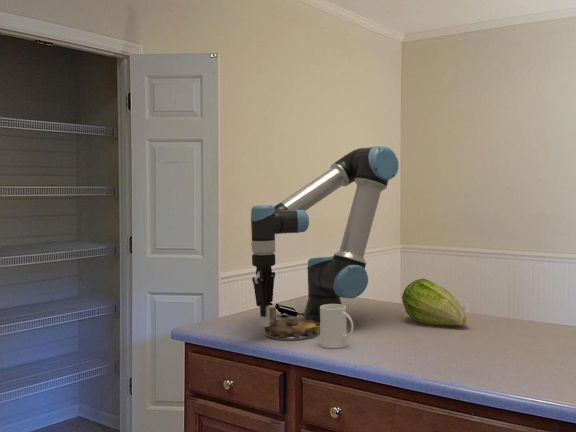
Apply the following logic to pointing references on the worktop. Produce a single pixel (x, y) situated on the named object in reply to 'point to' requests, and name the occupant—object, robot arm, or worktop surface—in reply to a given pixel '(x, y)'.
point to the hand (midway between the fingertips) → (265, 325)
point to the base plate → (292, 337)
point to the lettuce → (432, 304)
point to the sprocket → (291, 326)
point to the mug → (334, 326)
